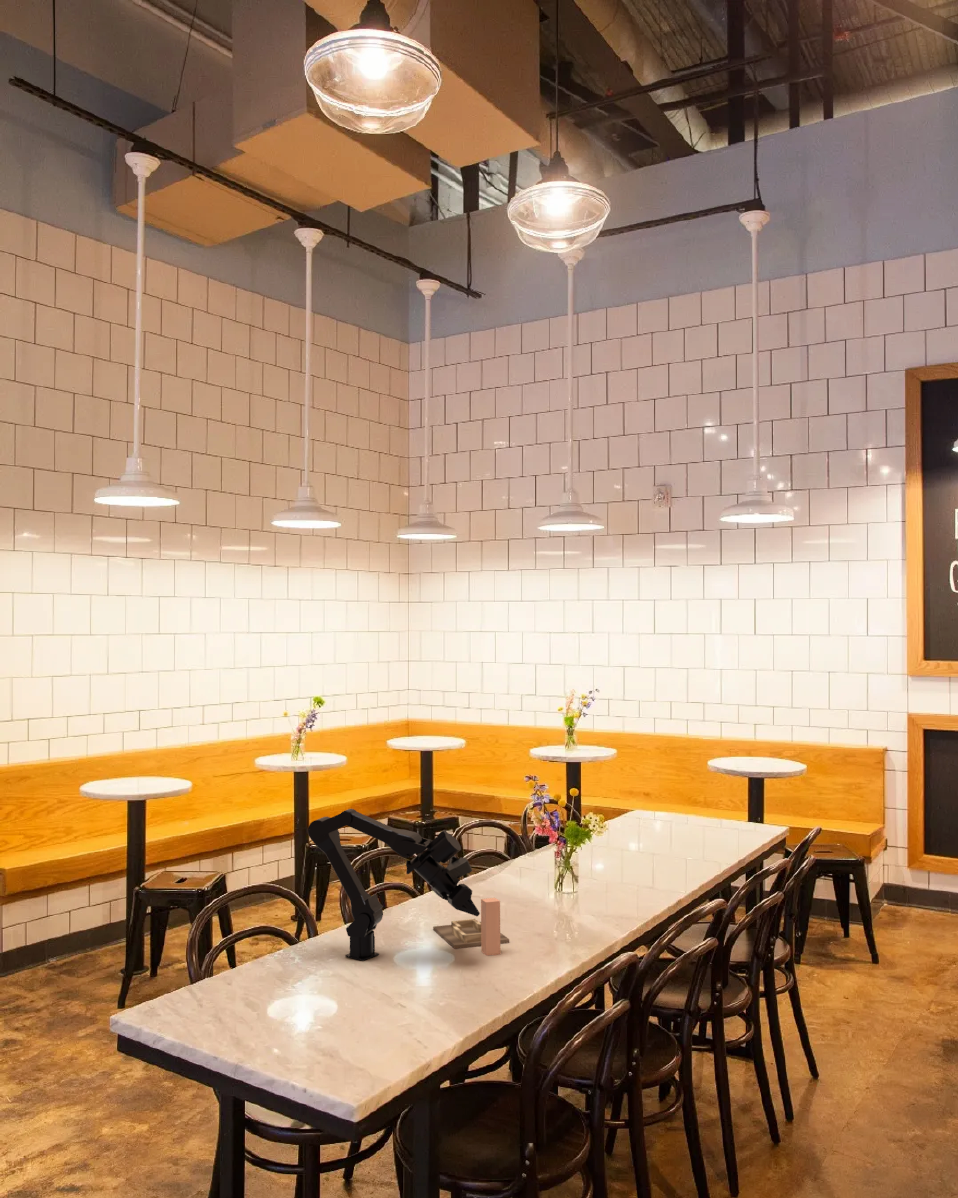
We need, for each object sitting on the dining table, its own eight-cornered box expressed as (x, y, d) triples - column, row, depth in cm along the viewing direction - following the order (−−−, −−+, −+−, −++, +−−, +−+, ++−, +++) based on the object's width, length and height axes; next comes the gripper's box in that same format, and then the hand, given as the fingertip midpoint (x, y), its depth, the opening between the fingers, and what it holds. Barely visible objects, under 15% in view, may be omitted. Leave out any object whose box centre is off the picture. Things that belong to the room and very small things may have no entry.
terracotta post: (486, 955, 267) (485, 902, 268) (481, 951, 271) (480, 899, 272) (500, 954, 269) (500, 901, 269) (495, 950, 272) (494, 897, 273)
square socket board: (509, 942, 279) (509, 931, 279) (454, 949, 274) (454, 937, 274) (484, 924, 298) (484, 914, 298) (433, 930, 293) (433, 919, 293)
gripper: (464, 855, 259) (504, 895, 262) (442, 843, 277) (481, 880, 280) (435, 889, 256) (476, 928, 259) (415, 874, 274) (454, 911, 277)
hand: (472, 910), depth 269 cm, fingers open, 9 cm apart
